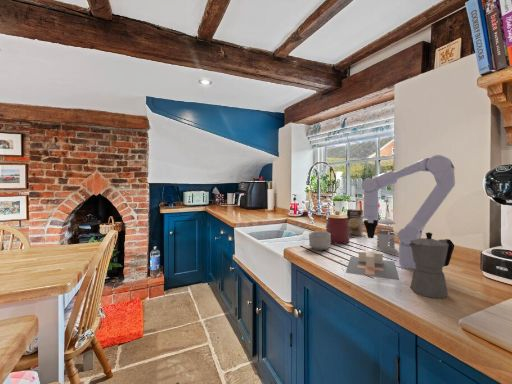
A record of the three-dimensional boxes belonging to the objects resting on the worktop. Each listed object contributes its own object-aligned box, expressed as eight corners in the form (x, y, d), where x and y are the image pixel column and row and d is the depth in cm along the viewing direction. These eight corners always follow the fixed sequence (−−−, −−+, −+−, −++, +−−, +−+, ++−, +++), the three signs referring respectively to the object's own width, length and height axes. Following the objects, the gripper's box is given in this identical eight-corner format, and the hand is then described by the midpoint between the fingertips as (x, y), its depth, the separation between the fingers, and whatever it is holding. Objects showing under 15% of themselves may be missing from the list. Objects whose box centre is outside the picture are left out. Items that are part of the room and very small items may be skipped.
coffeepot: (423, 301, 68) (424, 236, 68) (397, 287, 77) (397, 230, 77) (468, 295, 71) (469, 234, 71) (438, 283, 80) (439, 228, 80)
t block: (382, 262, 101) (382, 252, 101) (383, 268, 93) (383, 258, 93) (358, 259, 105) (358, 250, 105) (357, 265, 97) (357, 255, 97)
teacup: (331, 252, 118) (331, 235, 118) (308, 251, 121) (308, 234, 120) (329, 245, 132) (329, 230, 132) (308, 244, 134) (308, 229, 134)
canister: (321, 241, 142) (321, 210, 141) (333, 237, 150) (333, 209, 150) (342, 245, 132) (342, 212, 131) (353, 241, 141) (353, 210, 140)
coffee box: (346, 234, 160) (346, 209, 159) (348, 232, 165) (348, 209, 165) (361, 235, 155) (361, 210, 154) (363, 234, 160) (363, 209, 160)
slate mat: (394, 262, 102) (394, 261, 102) (399, 281, 82) (399, 279, 82) (350, 257, 109) (350, 256, 109) (345, 273, 90) (345, 272, 90)
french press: (371, 249, 123) (371, 199, 122) (381, 245, 130) (381, 198, 130) (392, 253, 115) (393, 200, 115) (401, 249, 123) (401, 199, 122)
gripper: (361, 204, 115) (361, 233, 116) (360, 207, 102) (359, 239, 103) (378, 205, 112) (378, 234, 113) (379, 207, 99) (378, 241, 100)
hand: (370, 237), depth 107 cm, fingers open, 3 cm apart
